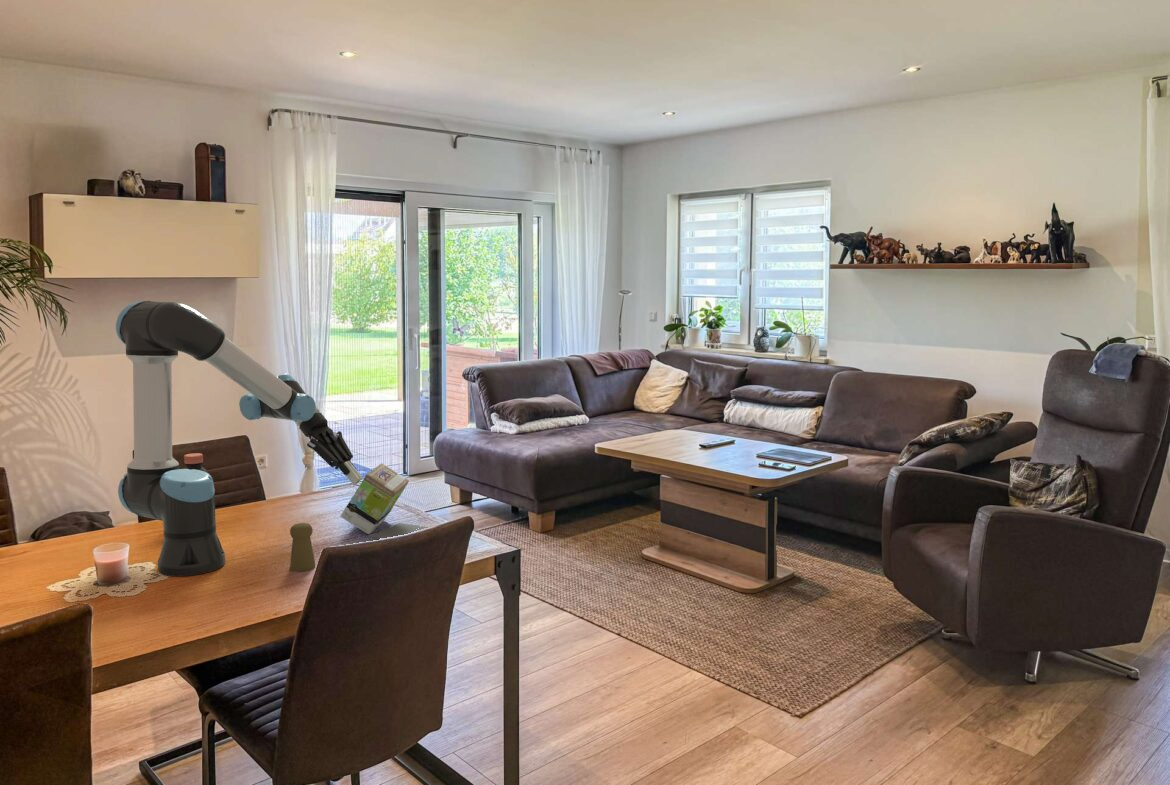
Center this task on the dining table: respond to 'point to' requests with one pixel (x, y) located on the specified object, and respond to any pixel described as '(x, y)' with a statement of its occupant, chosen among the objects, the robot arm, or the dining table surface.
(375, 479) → the tea box
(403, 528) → the mat
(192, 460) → the bottle
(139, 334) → the robot arm
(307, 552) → the olive green pawn
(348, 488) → the dining table surface
